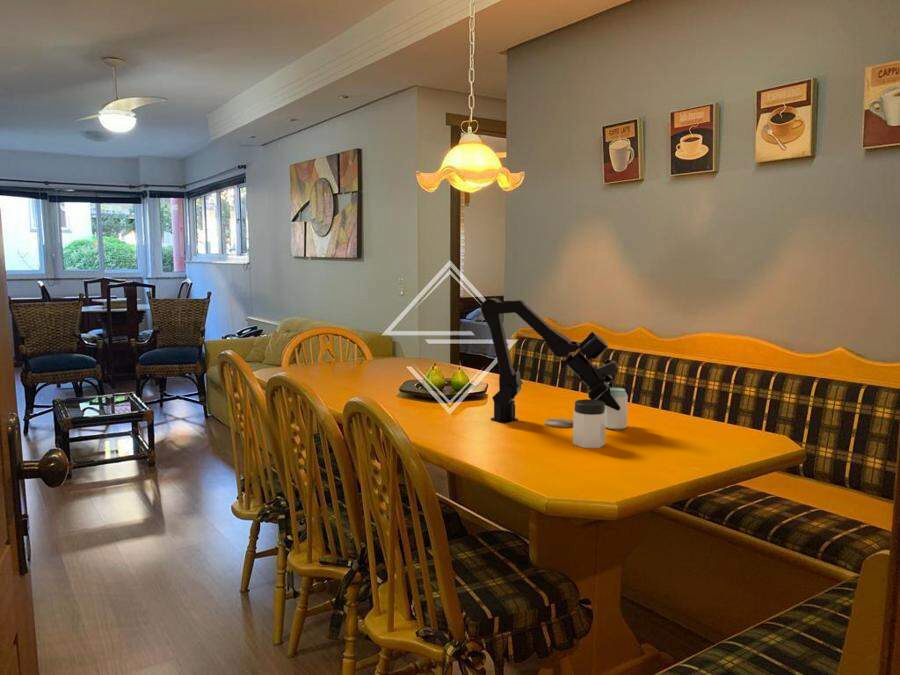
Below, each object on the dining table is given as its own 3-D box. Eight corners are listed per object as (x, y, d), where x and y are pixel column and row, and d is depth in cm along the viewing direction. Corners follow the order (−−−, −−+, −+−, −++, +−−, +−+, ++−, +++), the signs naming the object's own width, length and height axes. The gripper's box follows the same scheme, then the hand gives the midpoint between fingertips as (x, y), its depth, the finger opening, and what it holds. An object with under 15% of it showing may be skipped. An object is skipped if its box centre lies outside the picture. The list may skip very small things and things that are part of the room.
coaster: (569, 429, 205) (569, 427, 205) (539, 425, 210) (539, 423, 210) (581, 422, 214) (581, 420, 214) (551, 418, 219) (551, 417, 219)
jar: (611, 446, 186) (612, 403, 185) (588, 450, 182) (589, 406, 181) (589, 439, 194) (590, 397, 193) (567, 442, 190) (567, 400, 189)
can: (629, 426, 208) (630, 388, 207) (623, 431, 202) (624, 392, 201) (607, 424, 212) (608, 386, 210) (600, 428, 206) (600, 390, 204)
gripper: (600, 355, 197) (638, 395, 195) (606, 348, 214) (641, 384, 212) (572, 381, 200) (610, 420, 198) (580, 371, 218) (614, 407, 215)
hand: (620, 406), depth 206 cm, fingers closed on can, 7 cm apart
